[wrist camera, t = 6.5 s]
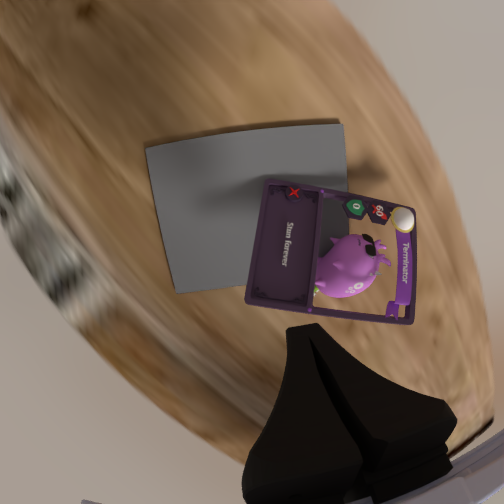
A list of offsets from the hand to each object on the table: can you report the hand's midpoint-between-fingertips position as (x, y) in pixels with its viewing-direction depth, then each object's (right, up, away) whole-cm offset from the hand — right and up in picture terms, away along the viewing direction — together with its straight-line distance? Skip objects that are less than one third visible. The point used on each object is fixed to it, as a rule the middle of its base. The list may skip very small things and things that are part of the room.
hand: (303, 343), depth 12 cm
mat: (-2, +6, +5) cm, 8 cm away
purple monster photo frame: (+2, 0, +4) cm, 5 cm away
